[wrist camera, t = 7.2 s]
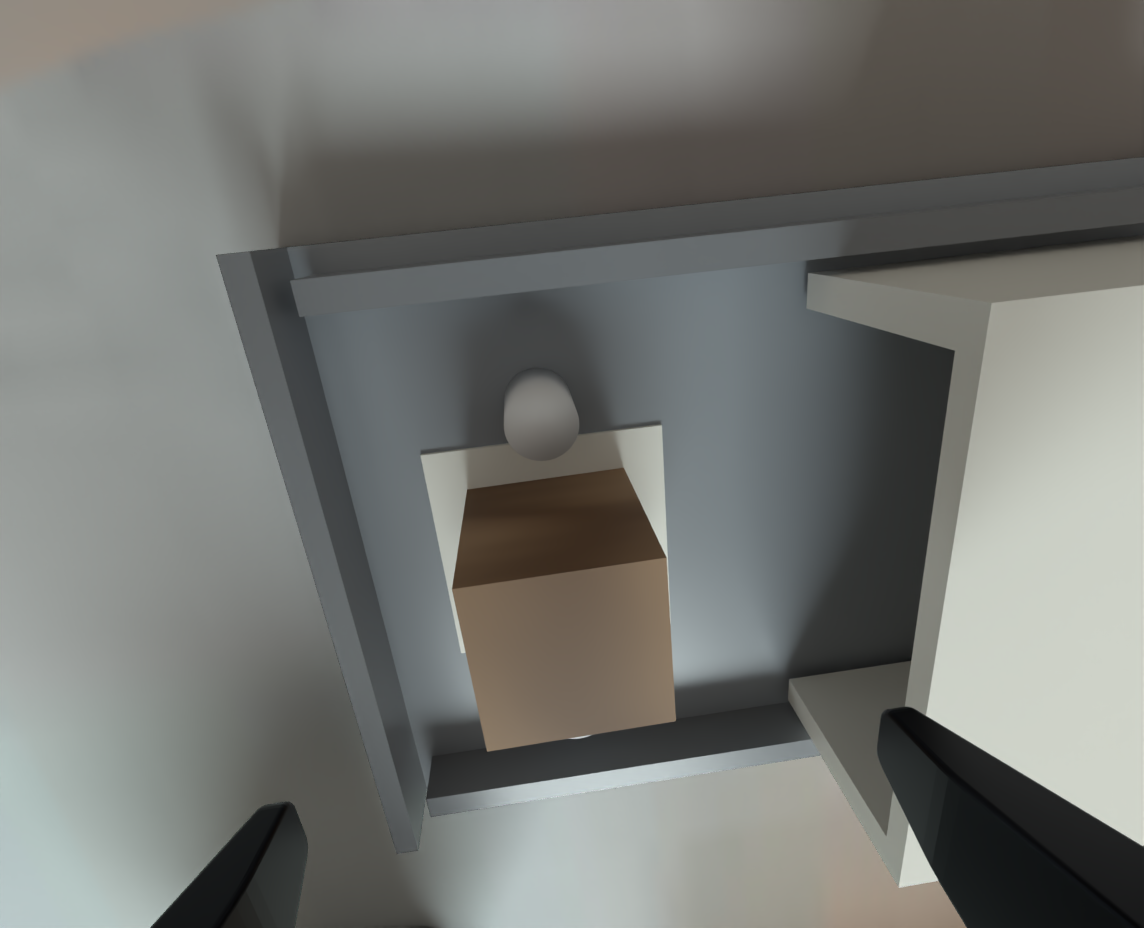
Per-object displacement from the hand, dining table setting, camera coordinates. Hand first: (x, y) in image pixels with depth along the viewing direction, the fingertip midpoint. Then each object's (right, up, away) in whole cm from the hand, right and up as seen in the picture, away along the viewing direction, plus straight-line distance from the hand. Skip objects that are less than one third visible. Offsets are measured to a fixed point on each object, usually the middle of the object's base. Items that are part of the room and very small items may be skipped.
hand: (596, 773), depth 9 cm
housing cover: (+10, +4, +7) cm, 13 cm away
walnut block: (-1, +2, +7) cm, 7 cm away
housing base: (+4, +4, +8) cm, 10 cm away
